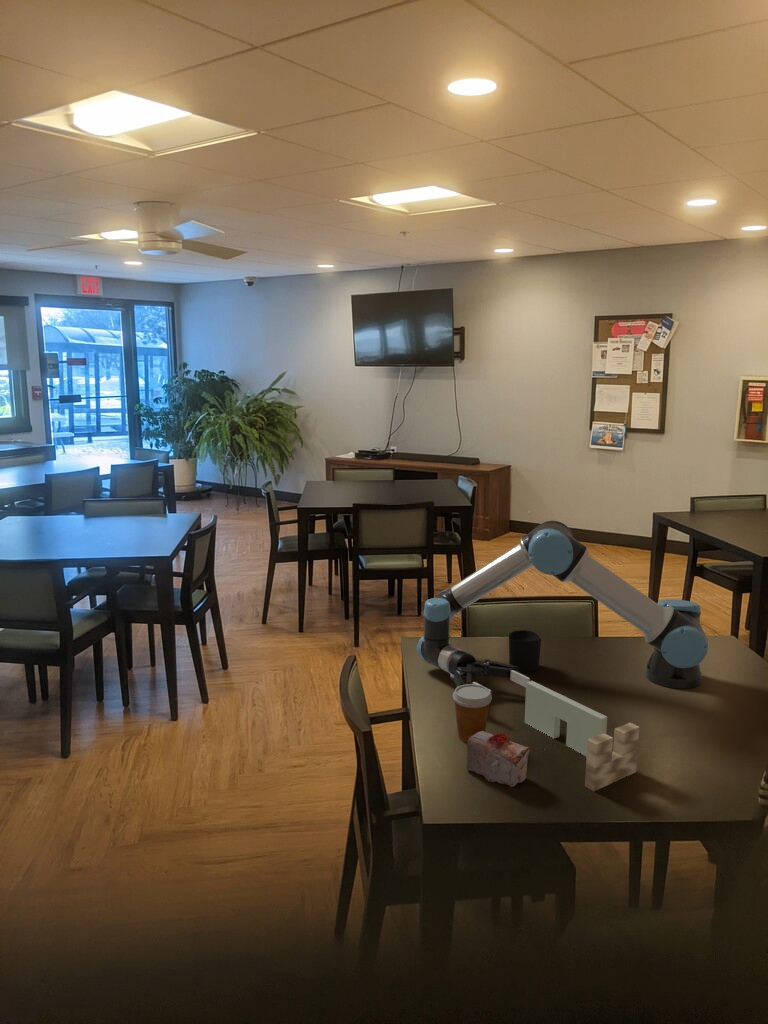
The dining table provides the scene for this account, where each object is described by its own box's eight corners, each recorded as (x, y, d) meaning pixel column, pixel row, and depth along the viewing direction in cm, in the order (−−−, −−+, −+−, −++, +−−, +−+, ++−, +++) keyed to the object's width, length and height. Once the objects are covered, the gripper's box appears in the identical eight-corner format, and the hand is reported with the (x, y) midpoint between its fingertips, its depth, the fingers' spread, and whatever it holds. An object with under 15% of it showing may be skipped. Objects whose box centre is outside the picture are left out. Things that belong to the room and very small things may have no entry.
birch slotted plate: (627, 767, 176) (630, 722, 174) (636, 772, 174) (639, 726, 172) (584, 786, 169) (587, 739, 167) (593, 791, 167) (596, 744, 164)
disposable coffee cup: (489, 748, 185) (490, 701, 182) (449, 744, 187) (450, 698, 184) (492, 729, 194) (493, 685, 192) (454, 726, 196) (454, 681, 193)
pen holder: (544, 665, 234) (545, 634, 232) (532, 676, 226) (534, 643, 224) (515, 659, 239) (516, 628, 237) (502, 669, 231) (503, 637, 229)
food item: (533, 778, 172) (534, 737, 170) (515, 794, 166) (517, 752, 164) (480, 759, 180) (481, 719, 178) (461, 773, 174) (462, 733, 172)
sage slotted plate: (524, 723, 198) (526, 682, 195) (530, 720, 199) (531, 680, 196) (598, 763, 178) (601, 719, 176) (604, 760, 179) (607, 716, 177)
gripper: (490, 665, 227) (543, 691, 210) (422, 685, 213) (472, 715, 196) (491, 641, 225) (544, 665, 208) (422, 660, 212) (473, 687, 195)
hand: (509, 689), depth 202 cm, fingers open, 13 cm apart
